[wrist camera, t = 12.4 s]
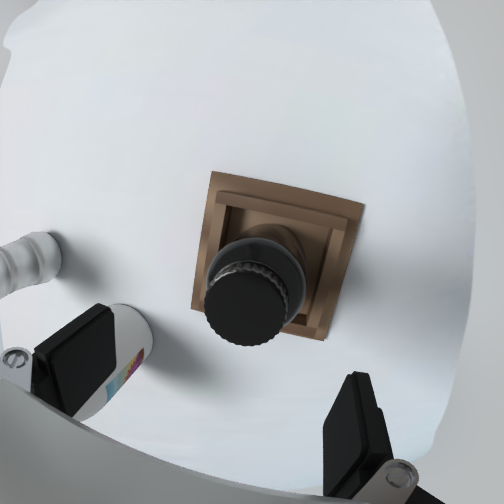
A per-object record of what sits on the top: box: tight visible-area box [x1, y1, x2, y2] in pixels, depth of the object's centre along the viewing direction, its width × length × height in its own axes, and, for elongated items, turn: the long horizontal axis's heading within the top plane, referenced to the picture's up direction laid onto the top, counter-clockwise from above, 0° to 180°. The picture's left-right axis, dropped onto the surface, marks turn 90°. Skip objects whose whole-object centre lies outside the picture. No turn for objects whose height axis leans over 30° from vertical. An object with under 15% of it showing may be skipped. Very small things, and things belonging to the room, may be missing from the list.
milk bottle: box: [72, 304, 153, 422], centre depth 24 cm, size 8×8×20 cm
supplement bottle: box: [204, 223, 306, 346], centre depth 22 cm, size 7×7×12 cm
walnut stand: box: [191, 171, 363, 341], centre depth 27 cm, size 14×14×3 cm
